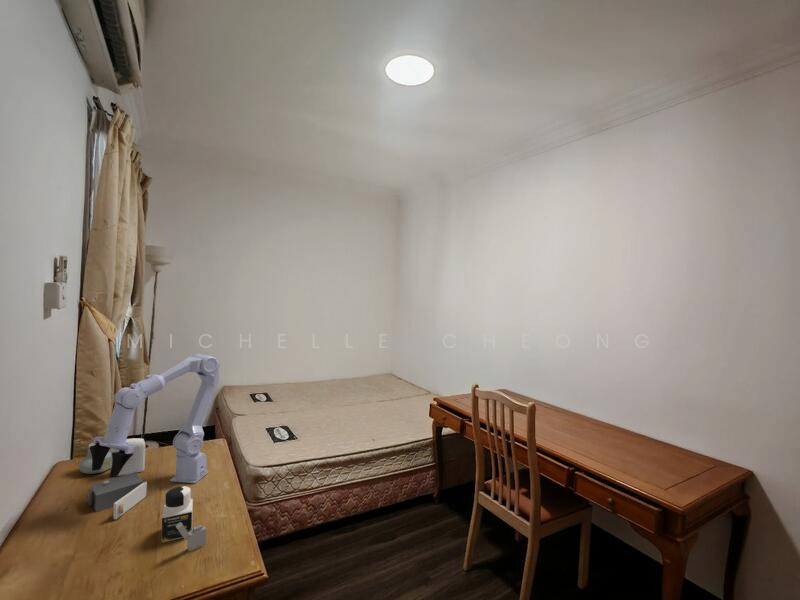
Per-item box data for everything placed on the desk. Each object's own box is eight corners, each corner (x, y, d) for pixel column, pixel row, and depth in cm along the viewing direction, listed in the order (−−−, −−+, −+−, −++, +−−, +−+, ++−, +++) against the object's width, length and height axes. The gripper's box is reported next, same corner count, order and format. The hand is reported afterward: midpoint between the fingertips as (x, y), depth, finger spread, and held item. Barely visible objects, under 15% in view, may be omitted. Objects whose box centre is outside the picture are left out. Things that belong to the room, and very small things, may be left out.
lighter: (203, 541, 102) (204, 512, 102) (206, 544, 101) (206, 514, 101) (174, 554, 97) (175, 523, 97) (177, 557, 96) (177, 526, 96)
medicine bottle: (161, 543, 101) (162, 499, 101) (163, 528, 107) (164, 486, 107) (191, 536, 104) (192, 493, 104) (192, 521, 111) (193, 481, 110)
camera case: (135, 486, 129) (135, 470, 129) (142, 496, 123) (143, 479, 123) (86, 501, 119) (86, 483, 119) (91, 513, 113) (92, 494, 113)
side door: (144, 495, 123) (145, 481, 123) (150, 495, 123) (150, 481, 123) (113, 519, 110) (113, 503, 110) (119, 519, 110) (119, 503, 110)
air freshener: (102, 462, 146) (102, 436, 145) (120, 465, 144) (121, 439, 144) (73, 476, 135) (73, 448, 135) (92, 478, 133) (92, 450, 133)
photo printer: (145, 467, 143) (145, 434, 143) (144, 471, 139) (145, 438, 139) (110, 473, 137) (111, 439, 137) (109, 478, 134) (110, 444, 133)
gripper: (89, 423, 116) (74, 469, 114) (123, 433, 112) (109, 481, 109) (111, 421, 123) (98, 465, 120) (145, 431, 119) (131, 476, 116)
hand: (104, 473), depth 115 cm, fingers open, 7 cm apart
